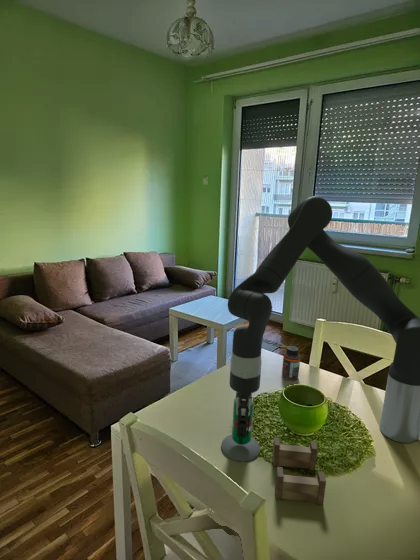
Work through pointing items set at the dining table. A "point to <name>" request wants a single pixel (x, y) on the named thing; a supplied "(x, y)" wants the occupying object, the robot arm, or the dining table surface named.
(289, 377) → the supplement bottle
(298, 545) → the dining table surface
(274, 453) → the channel
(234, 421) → the soda can
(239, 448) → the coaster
